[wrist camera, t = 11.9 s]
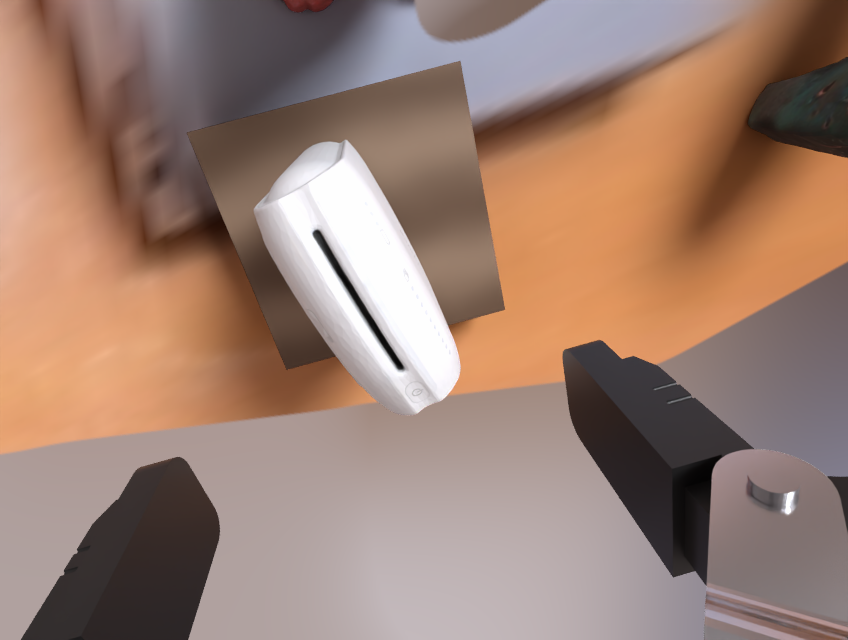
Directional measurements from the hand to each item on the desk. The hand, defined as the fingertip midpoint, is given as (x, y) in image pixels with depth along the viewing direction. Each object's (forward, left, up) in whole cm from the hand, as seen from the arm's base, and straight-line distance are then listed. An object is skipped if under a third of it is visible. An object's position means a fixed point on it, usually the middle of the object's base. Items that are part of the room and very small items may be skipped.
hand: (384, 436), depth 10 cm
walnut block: (0, 0, -22) cm, 22 cm away
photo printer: (0, 0, -19) cm, 19 cm away
